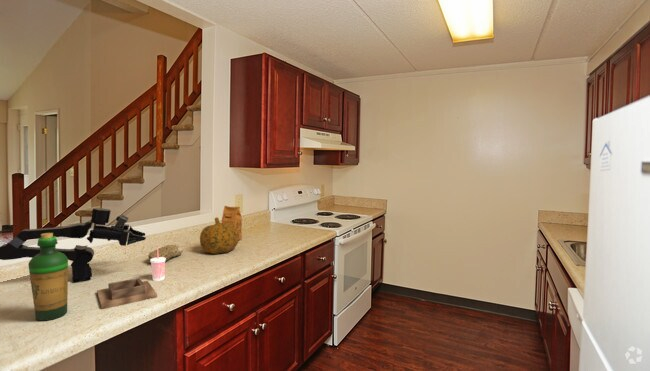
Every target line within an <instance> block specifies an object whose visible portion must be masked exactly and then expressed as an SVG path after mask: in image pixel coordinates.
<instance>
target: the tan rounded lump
mask: <svg viewBox="0 0 650 371" xmlns="http://www.w3.org/2000/svg"><path fill="white" fill-rule="evenodd" d="M183 252H184V249H183V248H182V247H181V246H179V245H176V244H168V245H164V246H162V247H160V248H159V247H158V254H159V257H165V258H166V260H165V263H166V262H167V261H169V260H170V259H172V258H174V257H179V256H180V255H181V256H182V253H183ZM148 253H149V254H148V255H147V256H148V259H149V261H150V260H151V259H152V258H157V249H154V250H152V251H150V252H148Z"/></svg>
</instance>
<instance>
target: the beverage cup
mask: <svg viewBox="0 0 650 371" xmlns="http://www.w3.org/2000/svg"><path fill="white" fill-rule="evenodd" d="M158 249H159V247H156V250H157V258H152V259H151V260H150V259H149V261H150V265H151V274H152V275H151V276H152V281H154V282H159V281H160V282H161V281H163V280H165V278H166V277H165V275H166V273H165V272H166V269H165V268H166V262H165V260H166V258H165V257H159V254H158Z"/></svg>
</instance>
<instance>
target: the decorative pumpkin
mask: <svg viewBox="0 0 650 371" xmlns="http://www.w3.org/2000/svg"><path fill="white" fill-rule="evenodd" d="M214 222H215V224H211V225H210V224H209V225H207V226H204V228H203V229H202V230H201V232H200V236H199V243H200V246H201V249H202V250H203V251H204V252H205V253H208V254H213V255H218V254H222V253H223V254H224V253H226V254H227V253H229V252H231V251H233V250H234V249H235V248H236V246H237V245H238V243H239V241H240V240H239V233H238V231H237V229H236V228H235V227H234V226H233V225H231V224H228V223H222V222H220V219H219V217H218V216H217V217H214Z"/></svg>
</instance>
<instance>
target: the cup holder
mask: <svg viewBox="0 0 650 371" xmlns="http://www.w3.org/2000/svg"><path fill="white" fill-rule="evenodd" d="M141 279H142V278H140V277H136V278H131V279H127V280H126V279H125V280H120V281H115V282H109V283H108V284H107V286H108V287H107V288H102V289H97V290H96V295H97V298H98V300H99V303H100V307H101V310H104V309H109V308H113V307H119V306H124V305H127V304H131V303H135V302H141V301H142V302H143V301H146V299H147V300H150V298H151V299H156V298H158V293H157V292H156V290H155V289H154V287H152V285H151V283H150V282H149V281H148V280H145V281H143V280H141ZM155 297H156V298H155Z"/></svg>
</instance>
